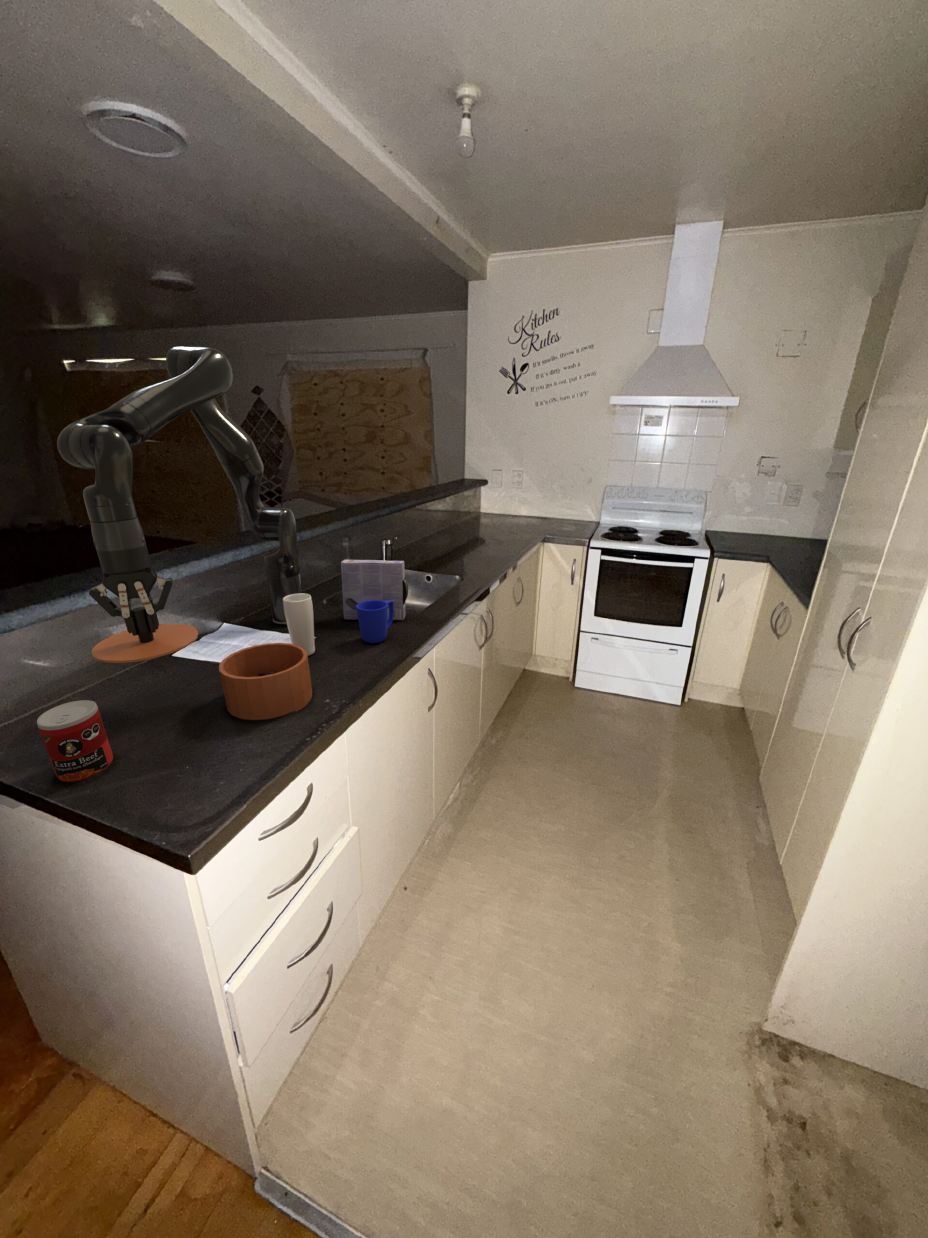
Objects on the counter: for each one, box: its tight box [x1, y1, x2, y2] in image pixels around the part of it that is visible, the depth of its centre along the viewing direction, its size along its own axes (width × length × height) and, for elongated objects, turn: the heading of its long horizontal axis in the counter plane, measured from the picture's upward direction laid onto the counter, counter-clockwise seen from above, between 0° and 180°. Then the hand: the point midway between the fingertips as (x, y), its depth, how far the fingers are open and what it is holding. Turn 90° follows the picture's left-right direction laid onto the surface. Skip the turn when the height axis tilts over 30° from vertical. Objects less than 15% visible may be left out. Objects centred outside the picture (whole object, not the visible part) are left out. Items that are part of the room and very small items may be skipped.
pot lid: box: [91, 606, 199, 664], centre depth 93 cm, size 18×18×8 cm
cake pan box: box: [340, 559, 409, 621], centre depth 143 cm, size 19×5×18 cm, turn 89°
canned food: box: [36, 699, 114, 783], centre depth 79 cm, size 8×8×11 cm
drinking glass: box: [283, 592, 316, 657], centre depth 120 cm, size 7×7×15 cm
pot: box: [218, 642, 313, 721], centre depth 100 cm, size 17×17×10 cm
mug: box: [356, 600, 394, 644], centre depth 131 cm, size 8×12×10 cm
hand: (144, 632), depth 93 cm, fingers closed on pot lid, 2 cm apart
